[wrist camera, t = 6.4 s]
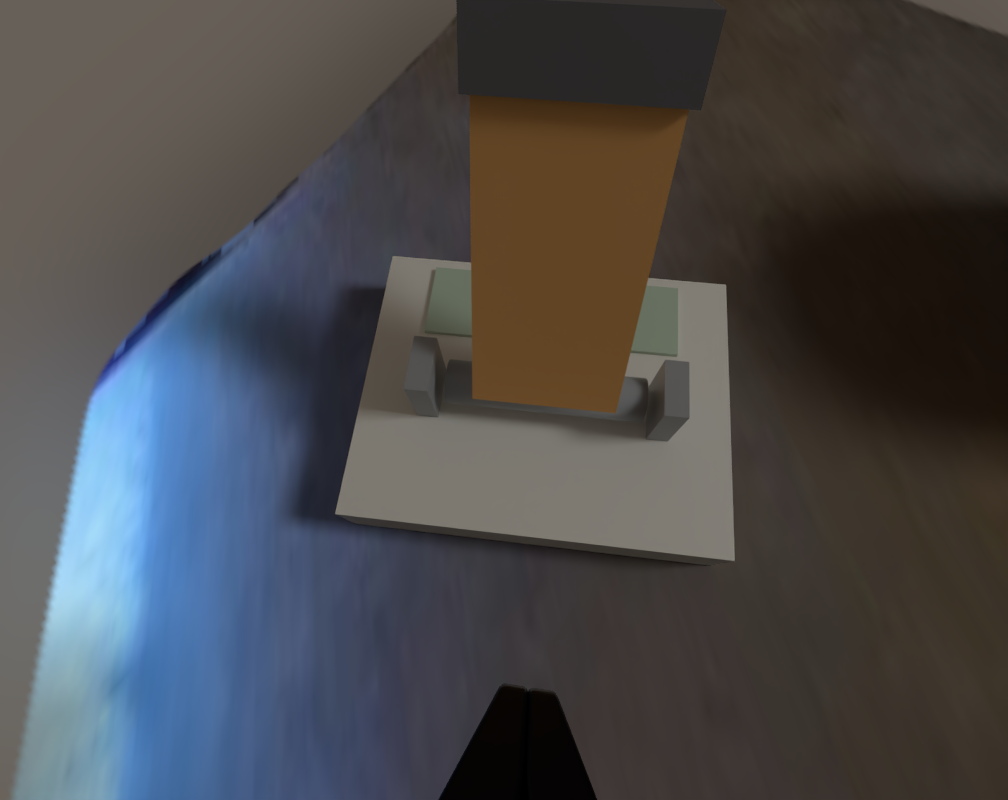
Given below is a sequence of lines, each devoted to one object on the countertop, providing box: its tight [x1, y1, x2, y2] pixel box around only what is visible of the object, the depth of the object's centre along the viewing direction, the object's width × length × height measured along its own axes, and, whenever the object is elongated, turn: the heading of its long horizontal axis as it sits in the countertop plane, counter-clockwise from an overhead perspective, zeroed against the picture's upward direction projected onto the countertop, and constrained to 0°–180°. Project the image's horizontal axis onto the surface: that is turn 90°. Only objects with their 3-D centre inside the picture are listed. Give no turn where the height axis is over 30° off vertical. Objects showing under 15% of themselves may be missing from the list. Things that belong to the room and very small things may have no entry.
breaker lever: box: [444, 0, 726, 423], centre depth 16 cm, size 2×7×12 cm, turn 83°
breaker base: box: [335, 256, 735, 566], centre depth 21 cm, size 11×14×5 cm
